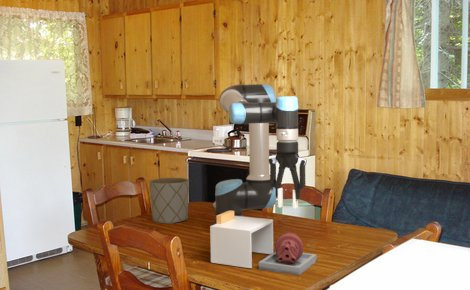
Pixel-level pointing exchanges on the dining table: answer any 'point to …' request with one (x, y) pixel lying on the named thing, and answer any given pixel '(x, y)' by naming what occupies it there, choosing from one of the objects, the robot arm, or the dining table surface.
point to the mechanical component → (289, 248)
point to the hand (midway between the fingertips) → (287, 207)
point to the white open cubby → (240, 239)
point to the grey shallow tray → (293, 268)
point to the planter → (169, 199)
